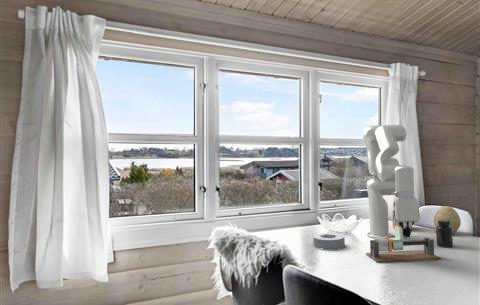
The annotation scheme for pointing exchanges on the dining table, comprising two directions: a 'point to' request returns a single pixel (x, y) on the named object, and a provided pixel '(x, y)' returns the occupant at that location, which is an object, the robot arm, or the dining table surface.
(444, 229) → the supplement bottle
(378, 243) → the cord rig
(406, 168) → the robot arm
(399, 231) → the mint green stepped block
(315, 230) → the dining table surface
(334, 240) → the tape roll
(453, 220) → the fossilized egg
